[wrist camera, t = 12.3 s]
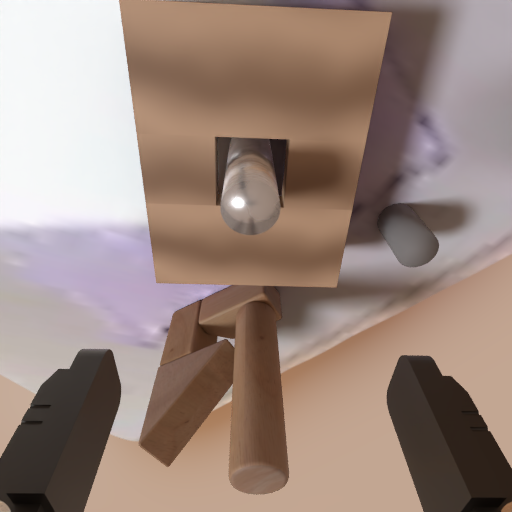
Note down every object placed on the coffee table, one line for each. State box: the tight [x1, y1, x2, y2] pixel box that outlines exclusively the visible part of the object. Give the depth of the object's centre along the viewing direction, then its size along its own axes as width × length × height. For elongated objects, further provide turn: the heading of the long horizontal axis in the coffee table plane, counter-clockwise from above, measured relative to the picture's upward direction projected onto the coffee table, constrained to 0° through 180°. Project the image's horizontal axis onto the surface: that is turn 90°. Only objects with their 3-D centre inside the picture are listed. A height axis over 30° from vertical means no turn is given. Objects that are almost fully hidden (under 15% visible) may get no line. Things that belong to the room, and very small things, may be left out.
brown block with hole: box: [119, 0, 392, 287], centre depth 26 cm, size 18×14×6 cm
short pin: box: [378, 204, 439, 267], centre depth 30 cm, size 3×3×5 cm
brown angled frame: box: [139, 285, 289, 494], centre depth 30 cm, size 4×11×18 cm, turn 119°
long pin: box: [220, 137, 281, 235], centre depth 24 cm, size 3×3×11 cm
